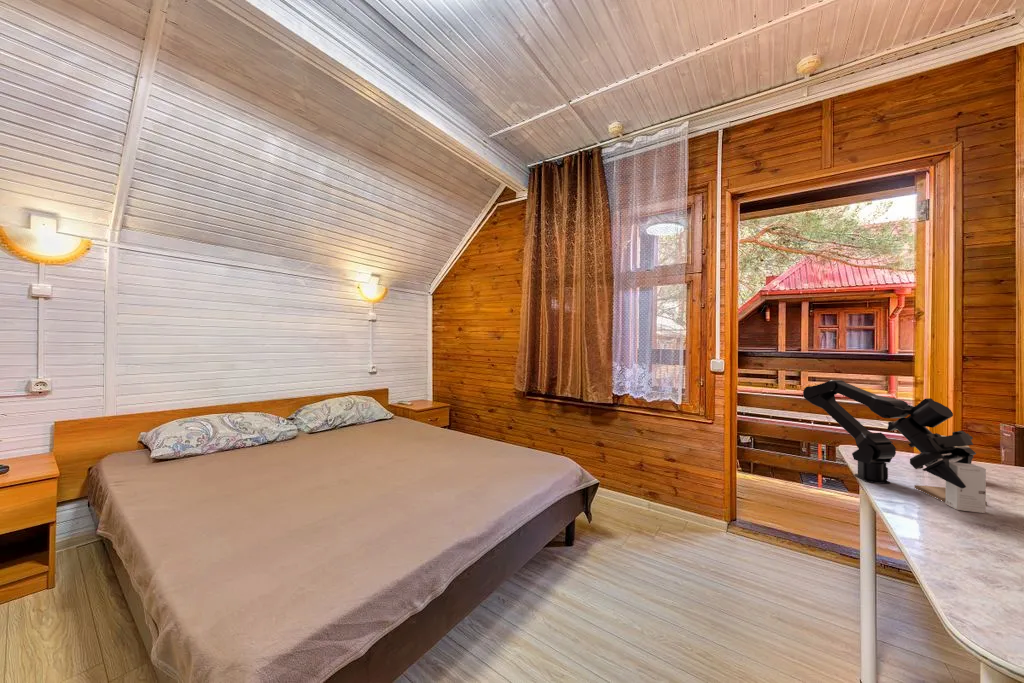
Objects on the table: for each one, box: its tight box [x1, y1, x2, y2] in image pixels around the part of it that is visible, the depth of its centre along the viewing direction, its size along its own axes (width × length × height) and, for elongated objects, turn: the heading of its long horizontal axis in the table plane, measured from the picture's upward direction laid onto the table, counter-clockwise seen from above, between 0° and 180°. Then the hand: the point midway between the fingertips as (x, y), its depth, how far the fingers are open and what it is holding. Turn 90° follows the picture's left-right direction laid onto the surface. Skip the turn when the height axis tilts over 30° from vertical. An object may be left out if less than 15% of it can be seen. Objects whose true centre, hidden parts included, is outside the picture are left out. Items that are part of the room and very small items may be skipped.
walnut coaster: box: [914, 484, 988, 506], centre depth 111 cm, size 10×10×1 cm
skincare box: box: [944, 462, 987, 514], centre depth 102 cm, size 6×4×12 cm
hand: (972, 486), depth 101 cm, fingers closed on skincare box, 7 cm apart
